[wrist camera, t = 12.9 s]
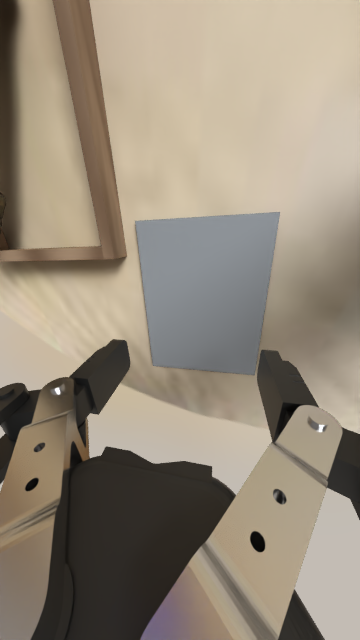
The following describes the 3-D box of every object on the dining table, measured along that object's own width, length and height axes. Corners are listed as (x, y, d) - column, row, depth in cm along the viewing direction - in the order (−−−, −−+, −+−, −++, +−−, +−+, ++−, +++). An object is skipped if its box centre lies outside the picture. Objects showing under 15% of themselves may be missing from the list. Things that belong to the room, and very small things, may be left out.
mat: (278, 212, 15) (280, 211, 14) (253, 372, 21) (254, 375, 21) (137, 221, 17) (135, 221, 17) (153, 363, 24) (152, 365, 23)
